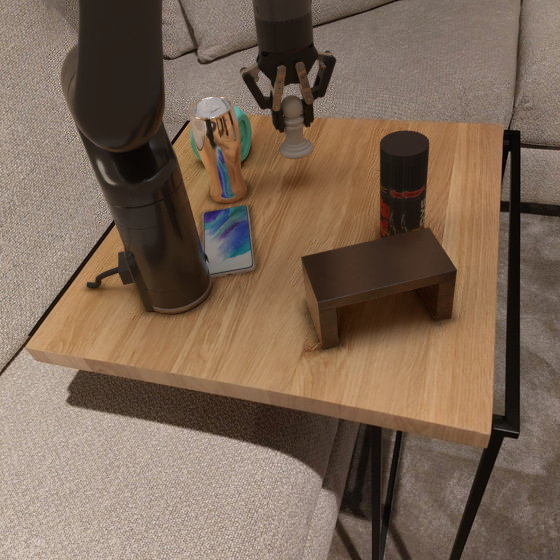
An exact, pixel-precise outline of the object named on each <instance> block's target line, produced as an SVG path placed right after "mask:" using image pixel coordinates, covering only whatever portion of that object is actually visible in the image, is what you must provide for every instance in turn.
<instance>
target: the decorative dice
mask: <svg viewBox="0 0 560 560" xmlns="http://www.w3.org/2000/svg"><path fill="white" fill-rule="evenodd" d="M233 106H234V110H235V113H236V117H237V120H238V125H239V130H240V137H241V163H242V162H244V160H245V159H246V158H247V157H248V155H249V153H250V150H251V145H252V124H251V121H250V118H249V116H248V115H247V114H246V113H245V112H244V111H243V110H242V109H241V108H240V107H238V106H237V105H234V104H233ZM189 140H190V146H191V149H192V152H193V153H194V155H195V156H196V158H197V159H198V160H199V161H200V162H202V160H201V157H200V155H199V153H198V150H197V148H196V145H195V142H194V138H193V134H192V129H191V128H190V131H189Z"/></svg>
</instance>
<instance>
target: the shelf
mask: <svg viewBox="0 0 560 560" xmlns="http://www.w3.org/2000/svg"><path fill="white" fill-rule="evenodd" d="M300 261H301V262H300V263H301V270H302V277H303V286H304V293H305V303H306V305H307V309H308V311H309V314H310V318H311V320H312V322H313V323H312V324H313V326H314V329H315V331H316V335H317V337H318V340H319V343H320V346H321V348H322V350H326V349H331V348H334V347H338V346H339V345H340V344H339V342H340V341H339V328H338V315H337V308H341V307H345V306H350V305H354V304H357V303H362V302H367V301H370V300H375V299H379V298H383V297H387V296H392V295H396V294H400V293H404V292H409V291H414V290H417V291H418V293H419V296H420V297H421V298H422V300H423V302H424V304H425V306H426V307H427V310H428V311H429V312H430V315H431V316H432V318H433V320H434V322H435V323H437V322H440V321H446V320H450V319H452V316H453V308H454V299H455V293H456V292H455V291H456V283H457V275H458V269H457V268H456V266H455V264H454V263H453V261H452V259H451V258H450V257H449V255H448V253H447V252H446V250H445V249H444V247H443V245H442V244H441V243H440V241H439V240H438V238H437V237H436V235H435V234H434V232H433V231H432V229H431V228H430V226H429V227H427V226H426V227H424V228H423V229H419V230H415V231H410V232H406V233H402V234H397V235H393V236H389V237H384V238H380V237H379V238H375V239H371V240H368V241H363V242H359V243H354V244H349V245H346V246H342V247H338V248H332V249H328V250H323V251H320V252H315V253H312V254H311V253H310V254H307V255H303V256H300Z"/></svg>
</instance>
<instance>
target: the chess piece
mask: <svg viewBox="0 0 560 560" xmlns="http://www.w3.org/2000/svg"><path fill="white" fill-rule="evenodd" d="M301 99H302V98H300V97H299V96H297V95H294V94H290V95H286V96H285V97H283V98H282V99H281V108H282V110H283V119H284V129H285V132H284V133H285V135H284V136H285V139H284V140H283V141H282V142H280V144H279V146H278V153H279V155H280V156H282V157H283V158H285V159H287V160H300V159H305V158H306V157H309V156H310V155H311V154H312V152H314V151H313V150H314V144H313V143H312V141H311V140H310V139H308V138H305V137H304V128H305V125H304V124H305V122H304V115H303V114H302V111H303V103H302V101H301Z"/></svg>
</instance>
